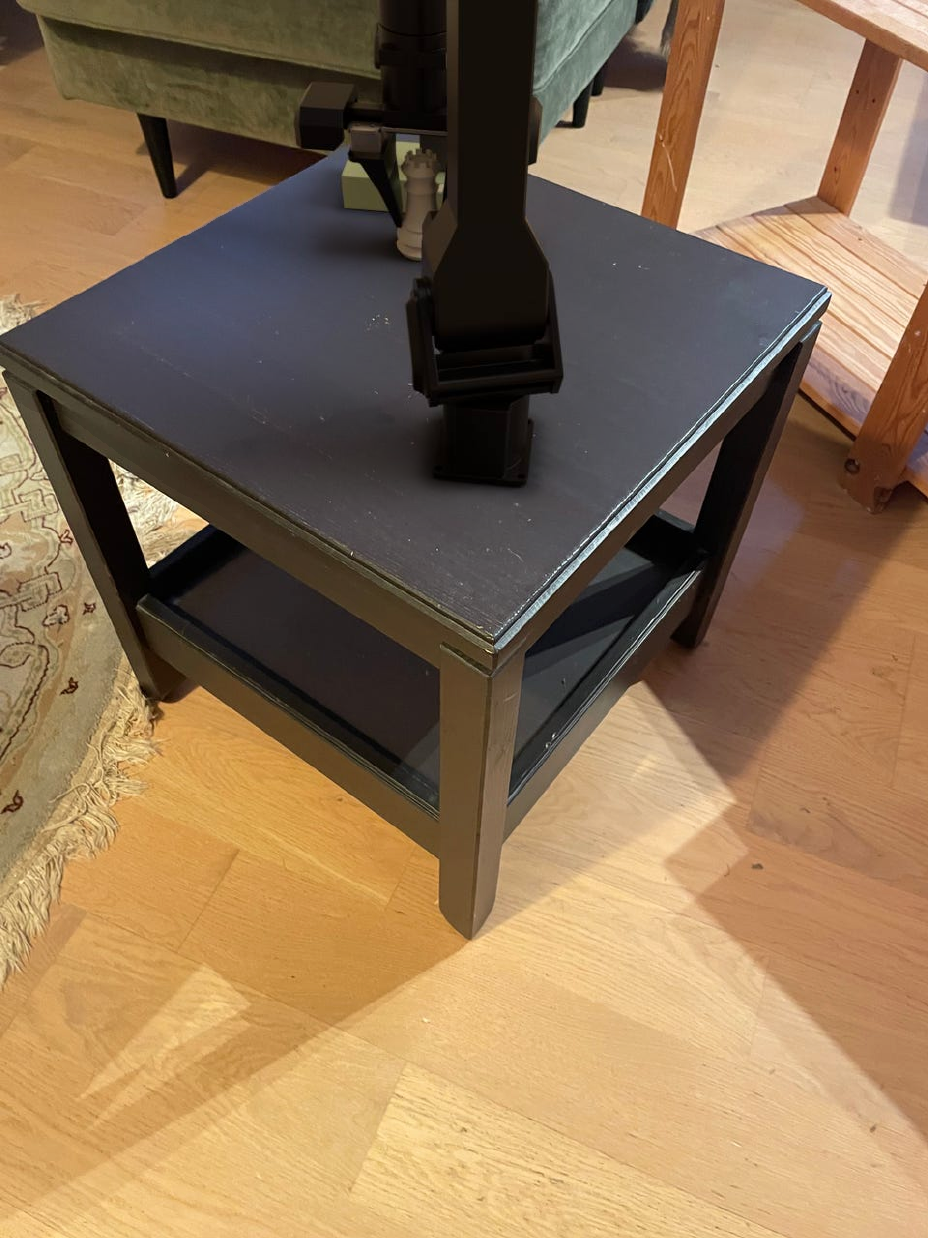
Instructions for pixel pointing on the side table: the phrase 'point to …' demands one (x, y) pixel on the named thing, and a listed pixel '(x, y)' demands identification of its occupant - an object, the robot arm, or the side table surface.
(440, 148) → the dark square block
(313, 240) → the side table surface
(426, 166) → the rook chess piece
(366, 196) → the olive green box
